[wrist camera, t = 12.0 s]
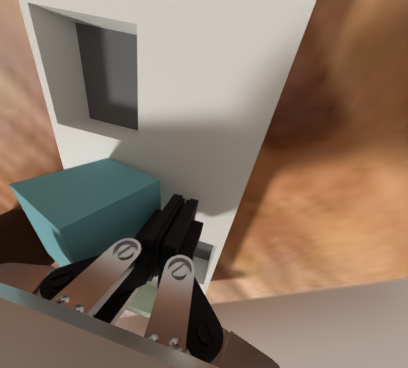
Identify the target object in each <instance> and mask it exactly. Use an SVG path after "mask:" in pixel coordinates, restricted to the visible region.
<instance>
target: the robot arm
mask: <svg viewBox="0 0 408 368" xmlns="http://www.w3.org/2000/svg"><path fill="white" fill-rule="evenodd" d="M198 202H199V200H196V199H192V198H190V200H188V199H187V200H186V202H185V199H184V198H183V196H182V195H178V194H174V195H173V196H172V197H171V199H170V200H169V202H168V203H167V204H166V206H165V207H164V208H163V210H160V209H156V210H155V211H154V213H153V214H152V215H151V217H150V218H149V219H148V220H147V222H146V223H145V224H144V226H143V227H142V228H141V229H140V231H139V232H138V233H137V235H136V236H135V237H134V238H133V239H132V238H126V239H121V240H119V241H117V242H116V243H114V244H113V245H112V246H111V247H110V248H109V249H108V250H106V251H105V252H104V253H103V254H100V255H97V256H94V257H91V258H88V259H84V260H81V261H78V262H75V263H72V264H68V265H65V266H62V267H60V268H58V269H56V268H54V266H45V265H33V264H22V263H4V264H1V265H0V368H280V367H279V365H278V364H277V363H276V362H274V361H273V360H272V359H271V358H270V357H268V356H267V355H265V354H264V353H262V352H261V351H259V350H258V349H256V348H255V347H253V346H252V345H251V344H249V343H248V342H246V341H245V340H243V339H242V338H241V337H239V336H238V335H236V334H235V333H233V332H232V331H230V332H228V331H227V330H226V329H224V328H222V327H221V324H220V322H219V320H218V318H217V317H216V315H215V313H214V311H213V309H212V307H211V306H210V304H209V302H208V300H207V298H206V296H205V295H204V293H203V291H202V289H201V287H200V285H199V284H198V282H197V280H196V278H195V276H194V274H195V266H194V263H193V262H192V261H193V258H194V255H195V252H196V249H197V246H198V242H199V239H200V236H201V232H202V228H203V224H204V223H202V222H199V221H196V220H195V216H196V211H197V207H198ZM184 203H185V204H184ZM157 276H158V283H157V289H158V291H157V294H156V298H155V301H154V305H153V308H152V311H151V315H150V318H149V321H148V325H147V328H146V332H145V335H144V337H142V336H140V335H137V334H135V333H132V332H129V331H127V330H124V329H122V328H119V327H117V326H114V324H115V323H116V322H117V320H118V319H119V317H120V316H121V315H122V313H123V312H124V310H125V309H126V308H127V306H128V305H129V303H130V302H131V301H132V299H133V298H134V296H135V295H136V294H137V292H138V291H139V289H140V287H141V286H143V285H145V284H146V283H147V281H150V282H151V281H152V279H153V277H157Z"/></svg>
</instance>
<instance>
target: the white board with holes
mask: <svg viewBox="0 0 408 368" xmlns="http://www.w3.org/2000/svg"><path fill="white" fill-rule="evenodd" d="M19 3H20V7H21V11H22V15H23V18H24V22H25V26H26V30H27V33H28V37H29V41H30V44H31V48H32V52H33V56H34V59H35V63H36V67H37V71H38V74H39V78H40V82H41V86H42V89H43V93H44V97H45V101H46V104H47V108H48V112H49V116H50V119H51V123H52V127H53V130H54V134H55V138H56V142H57V145H58V149H59V153H60V157H61V160H62V164H63V168H64V169H68V168H72V167H75V166H79V165H83V164H87V163H90V162H94V161H98V160H101V159H105V158H110V159H113V160H115V161H117V162H119V163H122V164H124V165H126V166H129V167H131V168H133V169H136V170H138V171H140V172H143V173H145V174H147V175H150V176H152V177H154V178H157V179H159V180H160V197H161V210H163V208H164V207H165V206H166V204H167V203H168V202H169V200H170V199H171V197H172V196H173V195H174V194H178V195H182V196H183V198H184V199H185V202H186V200H187V199H188V200H190V198H192V199H196V200H199V202H198V207H197V211H196V216H195V220H196V221H199V222H202V223H204V224H203V228H202V232H201V236H200V239H199V242H198V246H197V249H196V252H195V255H194V258H193V261H192V262H193V263H194V266H195V274H194V276H195V278H196V280H197V282H198V284H199V285H200V287H201V289H202V291H203V293H204V295H205V294H206V291H207V289H208V286H209V283H210V281H211V278H212V275H213V273H214V270H215V267H216V265H217V262H218V259H219V257H220V254H221V251H222V249H223V246H224V244H225V241H226V238H227V236H228V233H229V230H230V228H231V225H232V222H233V220H234V217H235V214H236V212H237V209H238V207H239V204H240V201H241V199H242V196H243V193H244V191H245V188H246V185H247V183H248V180H249V177H250V175H251V172H252V169H253V167H254V164H255V162H256V159H257V156H258V154H259V151H260V148H261V146H262V143H263V140H264V138H265V135H266V132H267V130H268V127H269V125H270V122H271V119H272V117H273V114H274V111H275V109H276V106H277V103H278V101H279V98H280V95H281V93H282V90H283V88H284V85H285V82H286V80H287V77H288V74H289V72H290V69H291V66H292V64H293V61H294V58H295V56H296V53H297V50H298V48H299V45H300V43H301V40H302V37H303V35H304V32H305V29H306V27H307V24H308V21H309V19H310V16H311V13H312V11H313V8H314V6H315V3H316V0H19ZM184 204H185V203H184ZM157 283H158V276H157V277H153V279H152V281H151V282H150V281H147V283H146V284H145V285H143V286H141V287H140V289H139V291H138V292H137V294H136V295H135V296H134V298H133V299H132V301H131V302H130V303H129V305H128V306H127V308H126V310H129V311H132V312H135V313H137V314H140V315H143V316H146V317H148V318H150V315H151V311H152V308H153V305H154V301H155V298H156V294H157V291H158V289H157Z"/></svg>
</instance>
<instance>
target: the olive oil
mask: <svg viewBox="0 0 408 368" xmlns="http://www.w3.org/2000/svg"><path fill="white" fill-rule="evenodd" d="M54 262H55V260H54V259H53V258H52V257H51V256H50V255H49V254H48V253H47V251H46V249H45V247H44V245H43V244H42V242H41V240H40V238H39V237H38V235H37V233H36V231H35V229H34V228H33V226H32V224H31V222H30V221H29V219H28V217H27V215H26V213H25V212H24V211H19V210H11V211H8V212H6V213H4V214H2V215H0V265H1V264H4V263H22V264H33V265H45V266H51V265H52V264H53V263H54Z"/></svg>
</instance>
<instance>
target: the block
mask: <svg viewBox="0 0 408 368" xmlns="http://www.w3.org/2000/svg"><path fill="white" fill-rule="evenodd" d="M9 185H10V187H11V189H12V190H13V192H14V194H15V196H16V197H17V199H18V201H19V203H20V205H21V206H22V208H23V210H24V212H25V213H26V215H27V217H28V219H29V221H30V222H31V224H32V226H33V228H34V229H35V231H36V233H37V235H38V237H39V238H40V240H41V242H42V244H43V245H44V247H45V249H46V251H47V253H48V254H49V255H50V256H51V257H52V258H53V259H54V260H55V261H56V263H57V264H58V265H59V266H60V267H62V266H65V265H68V264H72V263H75V262H78V261H81V260H84V259H88V258H91V257H94V256H97V255H100V254H103V253H104V252H105V251H106V250H108V249H109V248H110V247H111V246H112V245H113V244H114V243H116V242H117V241H119V240H121V239H126V238H132V239H133V238H134V237H135V236H136V235H137V233H138V232H139V231H140V229H141V228H142V227H143V226H144V224H145V223H146V222H147V220H148V219H149V218H150V217H151V215H152V214H153V213H154V211H155V210H156V209H160V210H161V197H160V180H159V179H157V178H154V177H152V176H150V175H147V174H145V173H143V172H140V171H138V170H136V169H133V168H131V167H129V166H126V165H124V164H122V163H119V162H117V161H115V160H113V159H110V158H105V159H101V160H98V161H94V162H90V163H87V164H83V165H79V166H75V167H72V168H68V169H64V170H61V171H57V172H53V173H49V174H46V175H42V176H38V177H35V178H31V179H27V180H23V181H20V182H16V183H12V184H9Z"/></svg>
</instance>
